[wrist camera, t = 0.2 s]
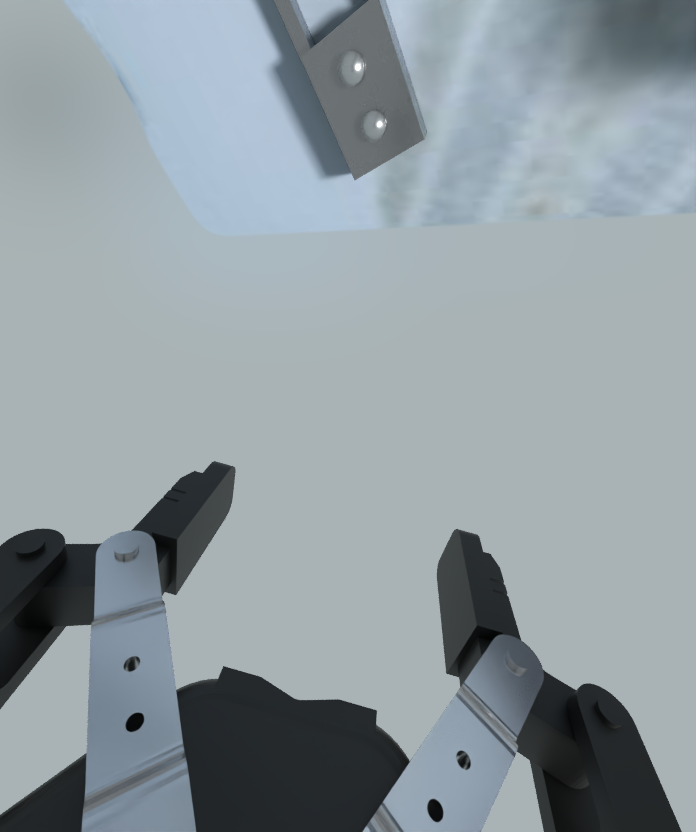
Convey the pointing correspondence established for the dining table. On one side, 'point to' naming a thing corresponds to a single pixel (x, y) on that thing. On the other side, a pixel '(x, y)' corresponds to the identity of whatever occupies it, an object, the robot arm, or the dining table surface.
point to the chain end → (360, 84)
